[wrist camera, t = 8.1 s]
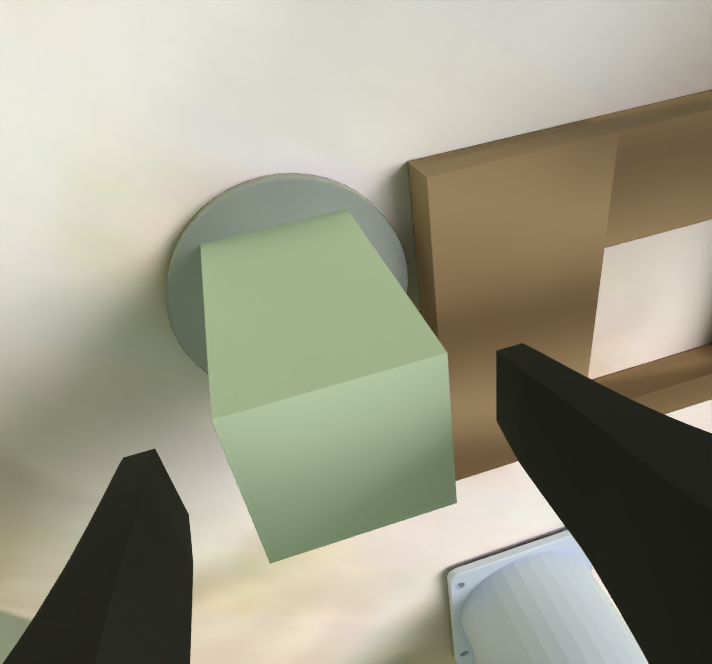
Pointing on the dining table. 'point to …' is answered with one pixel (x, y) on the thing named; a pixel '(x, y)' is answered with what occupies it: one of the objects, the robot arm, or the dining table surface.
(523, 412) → the robot arm
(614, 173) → the pocket board
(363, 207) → the coaster
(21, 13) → the dining table surface
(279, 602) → the dining table surface
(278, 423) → the block
